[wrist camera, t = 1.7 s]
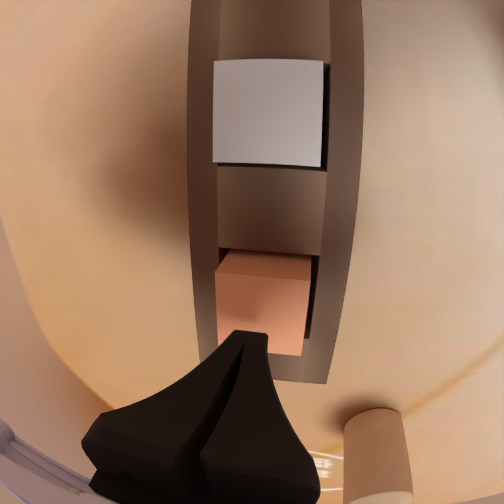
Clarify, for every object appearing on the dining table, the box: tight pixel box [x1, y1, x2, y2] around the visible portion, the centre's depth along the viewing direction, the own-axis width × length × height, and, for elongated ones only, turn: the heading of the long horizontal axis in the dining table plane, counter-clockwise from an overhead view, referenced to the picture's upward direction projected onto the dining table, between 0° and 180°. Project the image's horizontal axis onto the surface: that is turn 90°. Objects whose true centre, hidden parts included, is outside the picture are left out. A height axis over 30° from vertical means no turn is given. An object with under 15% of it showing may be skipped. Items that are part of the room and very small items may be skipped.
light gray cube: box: [213, 59, 323, 167], centre depth 12 cm, size 4×4×4 cm
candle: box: [343, 408, 414, 504], centre depth 19 cm, size 6×6×10 cm
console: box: [187, 0, 364, 384], centre depth 14 cm, size 8×30×4 cm, turn 179°
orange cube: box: [215, 248, 311, 356], centre depth 16 cm, size 4×4×4 cm
